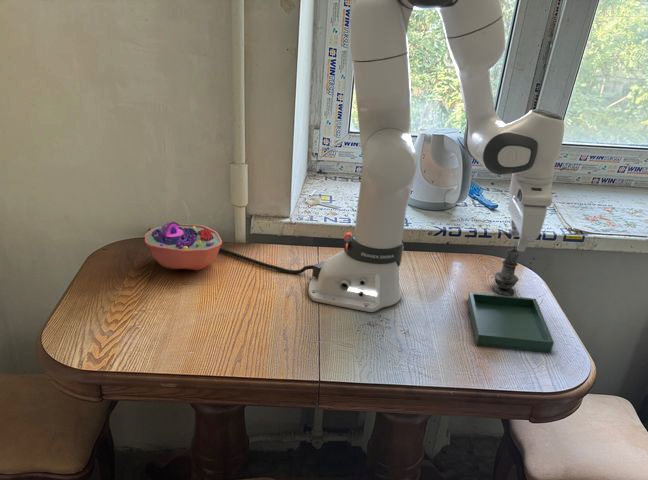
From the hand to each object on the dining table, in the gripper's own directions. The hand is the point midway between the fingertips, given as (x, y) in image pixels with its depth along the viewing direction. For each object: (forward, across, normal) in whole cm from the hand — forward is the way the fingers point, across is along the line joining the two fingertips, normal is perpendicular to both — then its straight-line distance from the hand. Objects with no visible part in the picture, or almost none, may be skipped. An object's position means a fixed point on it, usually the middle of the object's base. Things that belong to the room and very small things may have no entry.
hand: (516, 242), depth 144 cm
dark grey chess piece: (+13, 0, -1) cm, 13 cm away
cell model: (+12, +4, -82) cm, 83 cm away
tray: (+13, +18, -3) cm, 22 cm away
